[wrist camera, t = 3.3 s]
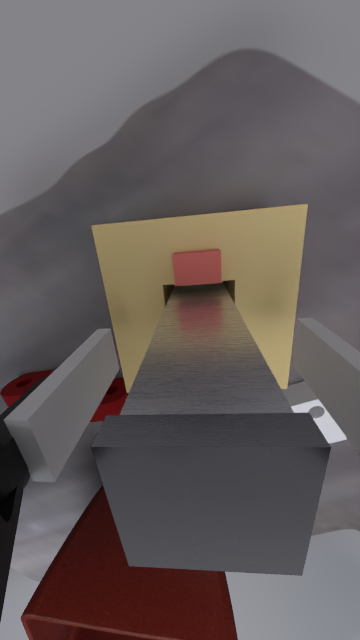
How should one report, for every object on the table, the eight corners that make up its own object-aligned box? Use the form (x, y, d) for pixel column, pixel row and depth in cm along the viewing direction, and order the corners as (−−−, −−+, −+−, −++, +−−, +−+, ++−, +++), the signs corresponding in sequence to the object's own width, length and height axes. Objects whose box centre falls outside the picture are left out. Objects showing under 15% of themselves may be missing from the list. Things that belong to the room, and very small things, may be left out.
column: (180, 311, 25) (125, 567, 6) (176, 271, 24) (84, 442, 4) (220, 309, 25) (305, 577, 5) (219, 268, 23) (337, 442, 4)
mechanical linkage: (41, 412, 33) (16, 442, 28) (21, 373, 30) (-11, 398, 26) (143, 403, 31) (134, 433, 26) (131, 360, 28) (118, 384, 24)
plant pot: (98, 442, 34) (14, 619, 18) (221, 457, 33) (243, 654, 18) (104, 515, 41) (47, 688, 26) (205, 529, 40) (211, 715, 25)
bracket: (236, 440, 32) (248, 497, 25) (219, 404, 30) (226, 455, 23) (329, 416, 30) (371, 473, 22) (318, 375, 27) (360, 423, 20)
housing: (145, 349, 27) (121, 405, 18) (126, 228, 22) (79, 224, 13) (261, 344, 26) (295, 402, 17) (268, 214, 21) (321, 200, 12)
